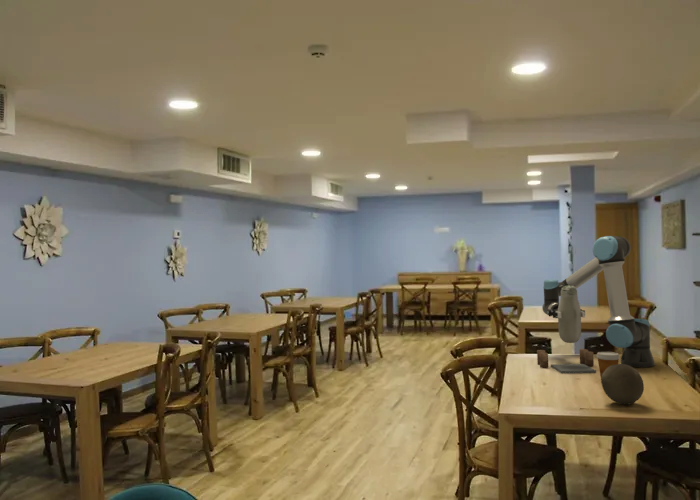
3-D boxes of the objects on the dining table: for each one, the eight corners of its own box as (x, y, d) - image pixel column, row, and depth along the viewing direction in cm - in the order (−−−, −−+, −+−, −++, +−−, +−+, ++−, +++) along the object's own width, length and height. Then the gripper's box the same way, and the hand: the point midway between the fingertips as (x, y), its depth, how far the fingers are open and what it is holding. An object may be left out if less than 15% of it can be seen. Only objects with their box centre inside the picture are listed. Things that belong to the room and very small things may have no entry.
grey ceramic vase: (554, 342, 282) (553, 285, 282) (570, 340, 286) (568, 284, 286) (570, 345, 273) (568, 286, 273) (586, 343, 277) (584, 285, 277)
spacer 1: (547, 364, 293) (546, 350, 293) (543, 365, 290) (542, 351, 290) (540, 363, 296) (539, 349, 296) (535, 364, 293) (535, 350, 294)
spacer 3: (589, 363, 292) (589, 349, 292) (585, 364, 290) (585, 350, 290) (582, 362, 295) (581, 348, 295) (578, 363, 293) (578, 349, 293)
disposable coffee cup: (623, 383, 248) (622, 355, 248) (599, 382, 250) (598, 355, 250) (617, 378, 257) (616, 351, 257) (594, 378, 259) (594, 351, 259)
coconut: (608, 398, 224) (607, 359, 224) (648, 403, 215) (646, 363, 215) (597, 406, 213) (596, 365, 213) (638, 411, 204) (637, 369, 204)
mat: (583, 366, 286) (583, 363, 286) (595, 372, 270) (595, 370, 270) (550, 366, 286) (550, 364, 286) (561, 373, 270) (561, 371, 270)
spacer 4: (595, 366, 285) (594, 351, 285) (591, 367, 283) (590, 353, 283) (587, 365, 288) (587, 351, 288) (583, 366, 286) (583, 352, 286)
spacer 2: (550, 367, 285) (549, 353, 285) (545, 368, 283) (545, 354, 283) (542, 366, 288) (542, 352, 288) (538, 367, 286) (538, 353, 286)
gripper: (580, 317, 297) (596, 322, 275) (535, 318, 298) (548, 323, 276) (579, 302, 297) (596, 306, 275) (535, 303, 298) (547, 307, 276)
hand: (572, 315), depth 275 cm, fingers closed on grey ceramic vase, 10 cm apart
